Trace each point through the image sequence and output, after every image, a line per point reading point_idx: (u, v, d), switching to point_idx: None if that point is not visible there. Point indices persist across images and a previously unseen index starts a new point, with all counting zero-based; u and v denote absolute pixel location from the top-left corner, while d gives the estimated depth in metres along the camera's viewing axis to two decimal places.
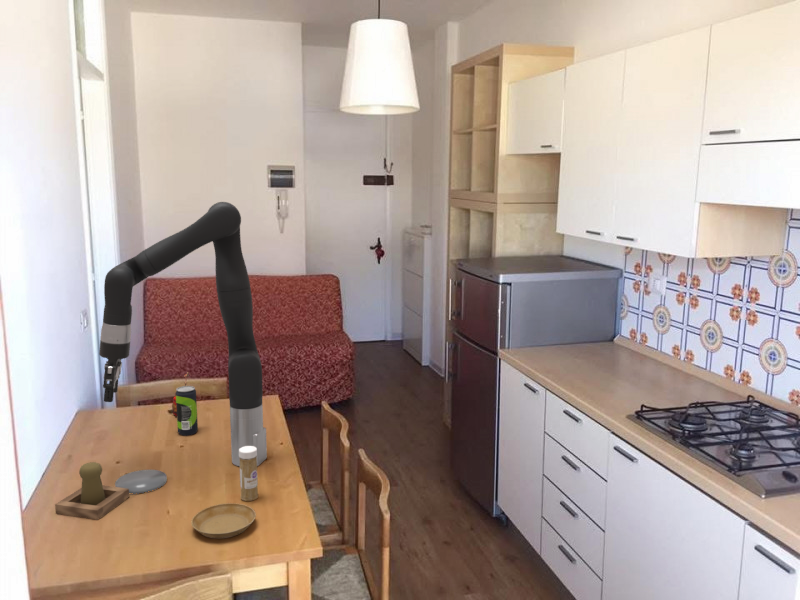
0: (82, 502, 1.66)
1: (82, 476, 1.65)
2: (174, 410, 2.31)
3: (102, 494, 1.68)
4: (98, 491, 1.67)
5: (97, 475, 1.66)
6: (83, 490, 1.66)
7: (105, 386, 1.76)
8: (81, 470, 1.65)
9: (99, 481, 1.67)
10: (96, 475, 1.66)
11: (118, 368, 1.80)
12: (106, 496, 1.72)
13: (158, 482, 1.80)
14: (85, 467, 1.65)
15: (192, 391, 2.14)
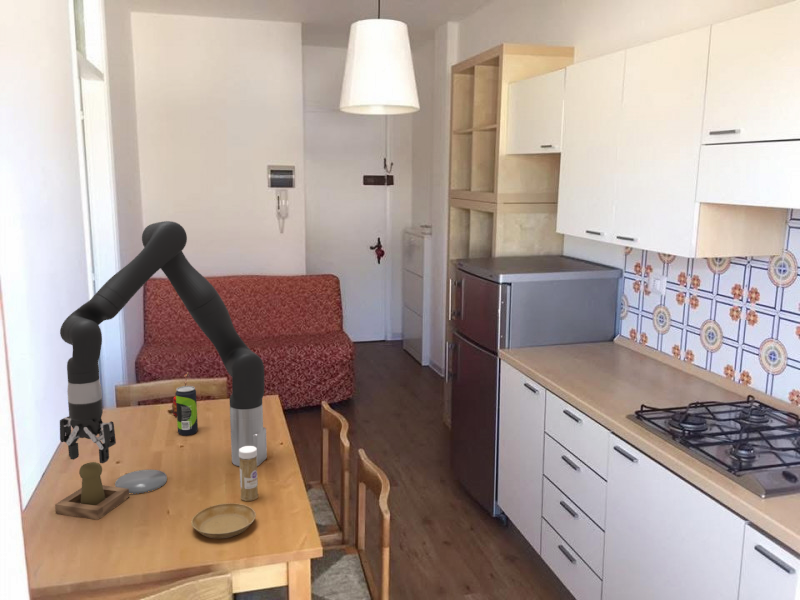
0: (82, 502, 1.66)
1: (82, 476, 1.65)
2: (174, 410, 2.31)
3: (102, 494, 1.68)
4: (98, 491, 1.67)
5: (97, 475, 1.66)
6: (83, 490, 1.66)
7: (110, 445, 1.64)
8: (81, 470, 1.65)
9: (99, 481, 1.67)
10: (96, 475, 1.66)
11: None
12: (106, 496, 1.72)
13: (158, 482, 1.80)
14: (85, 467, 1.65)
15: (192, 391, 2.14)
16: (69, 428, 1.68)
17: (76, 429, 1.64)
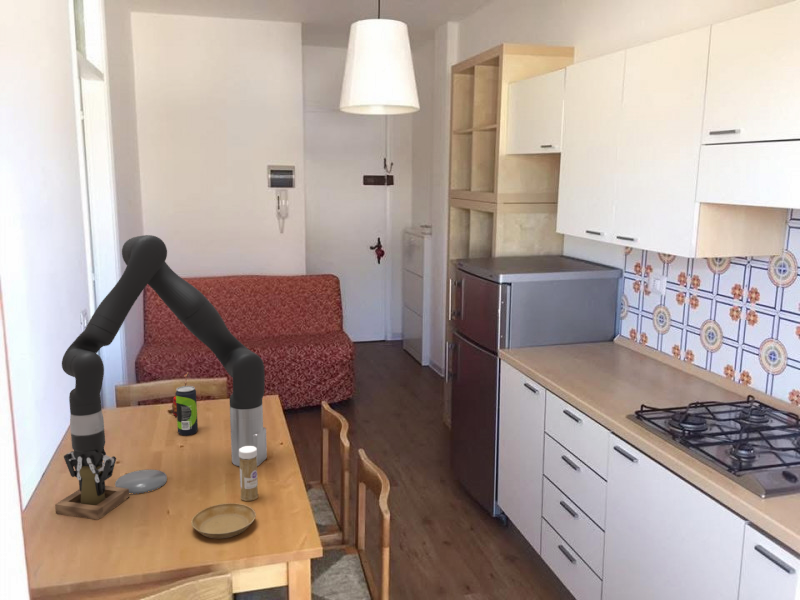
0: (82, 502, 1.66)
1: (82, 476, 1.65)
2: (174, 410, 2.31)
3: (102, 494, 1.68)
4: None
5: None
6: (83, 490, 1.66)
7: (106, 478, 1.66)
8: (81, 470, 1.65)
9: None
10: None
11: None
12: (106, 496, 1.72)
13: (158, 482, 1.80)
14: (85, 467, 1.65)
15: (192, 391, 2.14)
16: (76, 462, 1.69)
17: (80, 460, 1.65)
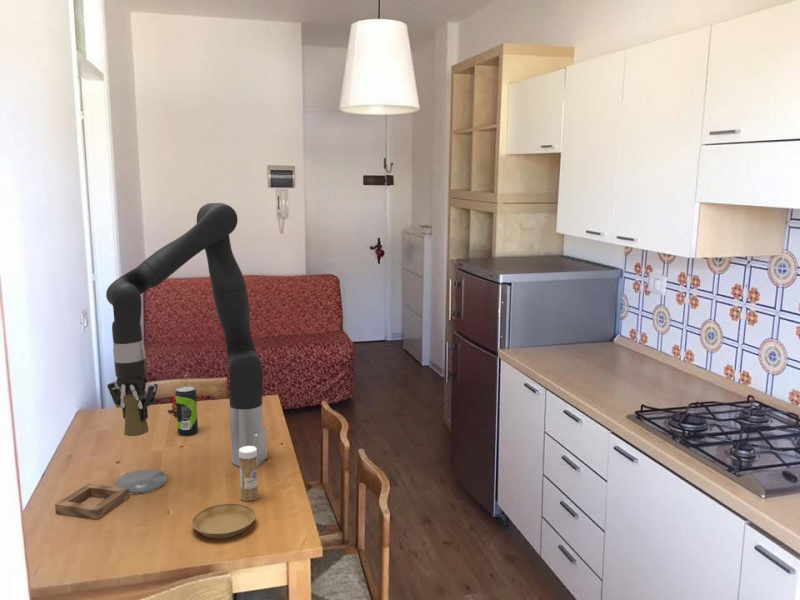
0: (126, 428, 1.75)
1: (126, 403, 1.74)
2: (174, 410, 2.31)
3: (145, 421, 1.77)
4: None
5: None
6: (127, 416, 1.75)
7: (149, 404, 1.74)
8: (125, 397, 1.74)
9: None
10: None
11: None
12: (106, 496, 1.72)
13: (158, 482, 1.80)
14: (128, 395, 1.74)
15: (192, 391, 2.14)
16: (119, 391, 1.77)
17: (123, 387, 1.74)
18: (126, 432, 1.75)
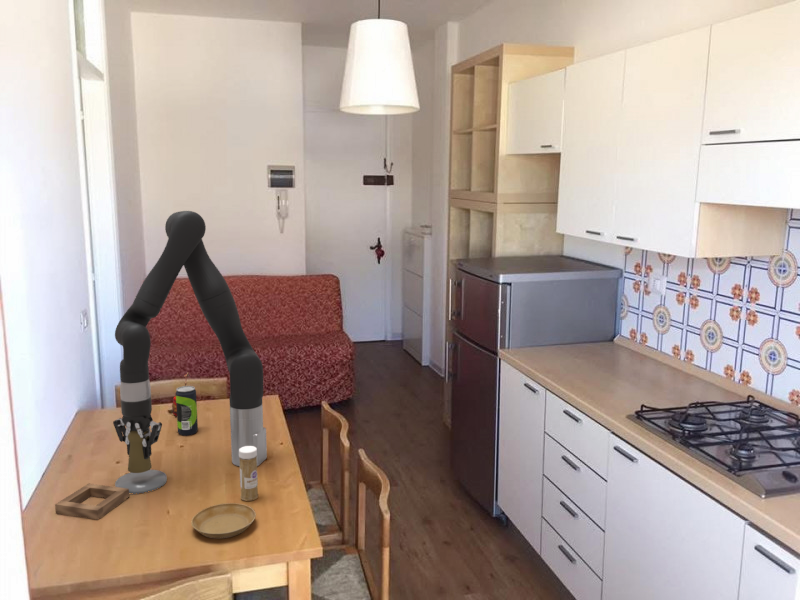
0: (130, 465, 1.78)
1: (130, 440, 1.77)
2: (174, 410, 2.31)
3: (148, 458, 1.80)
4: None
5: None
6: (131, 453, 1.78)
7: (153, 442, 1.77)
8: (130, 434, 1.77)
9: None
10: None
11: None
12: (106, 496, 1.72)
13: (158, 482, 1.80)
14: (133, 432, 1.77)
15: (192, 391, 2.14)
16: (124, 428, 1.81)
17: (128, 425, 1.77)
18: (129, 469, 1.78)
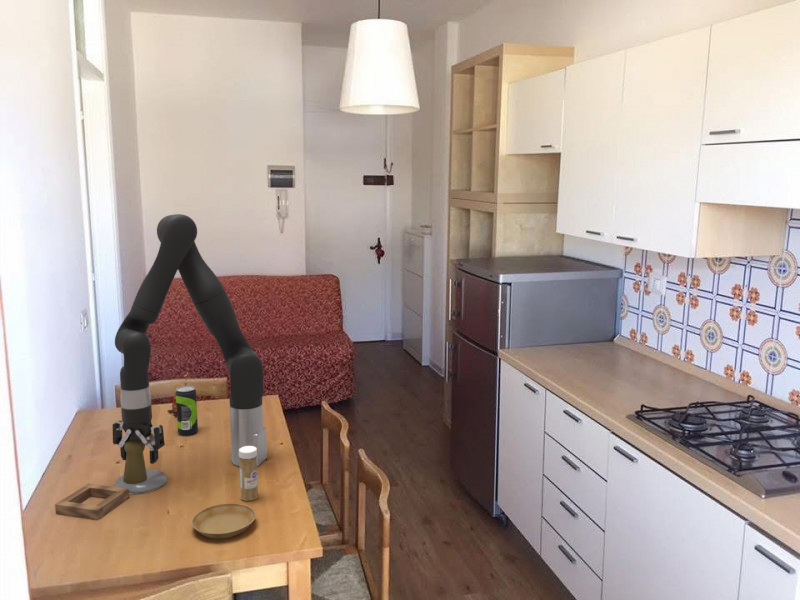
0: (125, 475, 1.79)
1: (127, 451, 1.78)
2: (174, 410, 2.31)
3: (144, 469, 1.81)
4: (141, 465, 1.79)
5: (141, 451, 1.79)
6: (127, 464, 1.79)
7: (160, 446, 1.77)
8: (126, 445, 1.78)
9: (142, 456, 1.80)
10: (140, 451, 1.78)
11: None
12: (106, 496, 1.72)
13: (158, 482, 1.80)
14: (130, 443, 1.78)
15: (192, 391, 2.14)
16: (121, 431, 1.81)
17: (128, 432, 1.77)
18: (125, 479, 1.79)
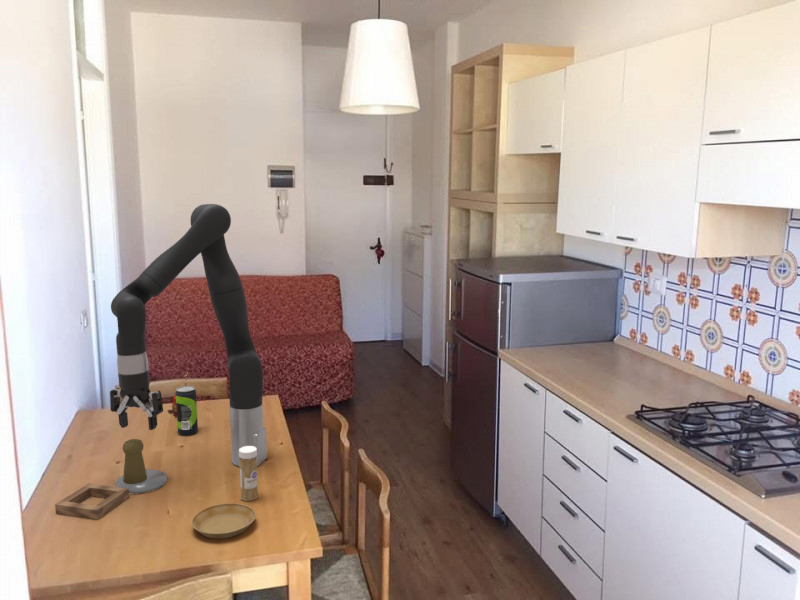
0: (125, 476, 1.79)
1: (125, 452, 1.77)
2: (174, 410, 2.31)
3: (143, 469, 1.81)
4: (140, 466, 1.79)
5: (139, 451, 1.79)
6: (126, 464, 1.78)
7: (159, 412, 1.75)
8: (124, 446, 1.78)
9: (141, 457, 1.80)
10: (138, 451, 1.78)
11: None
12: (106, 496, 1.72)
13: (158, 482, 1.80)
14: (128, 444, 1.78)
15: (192, 391, 2.14)
16: (118, 399, 1.79)
17: (126, 399, 1.75)
18: (124, 479, 1.79)
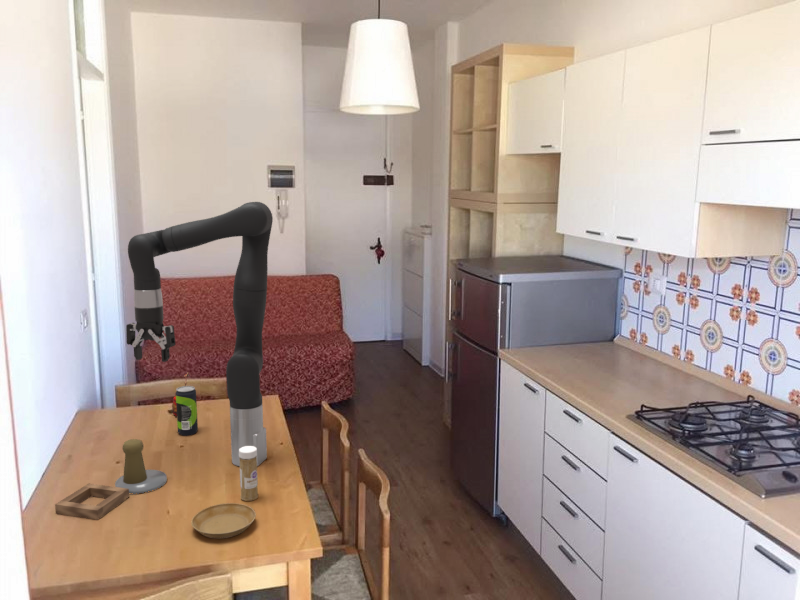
0: (125, 476, 1.79)
1: (125, 451, 1.78)
2: (174, 410, 2.31)
3: (143, 469, 1.81)
4: (140, 465, 1.80)
5: (139, 451, 1.79)
6: (126, 464, 1.79)
7: (171, 345, 1.88)
8: (124, 446, 1.78)
9: (140, 456, 1.80)
10: (138, 451, 1.78)
11: None
12: (106, 496, 1.72)
13: (158, 482, 1.80)
14: (128, 443, 1.78)
15: (192, 391, 2.14)
16: (134, 333, 1.92)
17: (141, 332, 1.89)
18: (125, 480, 1.79)
